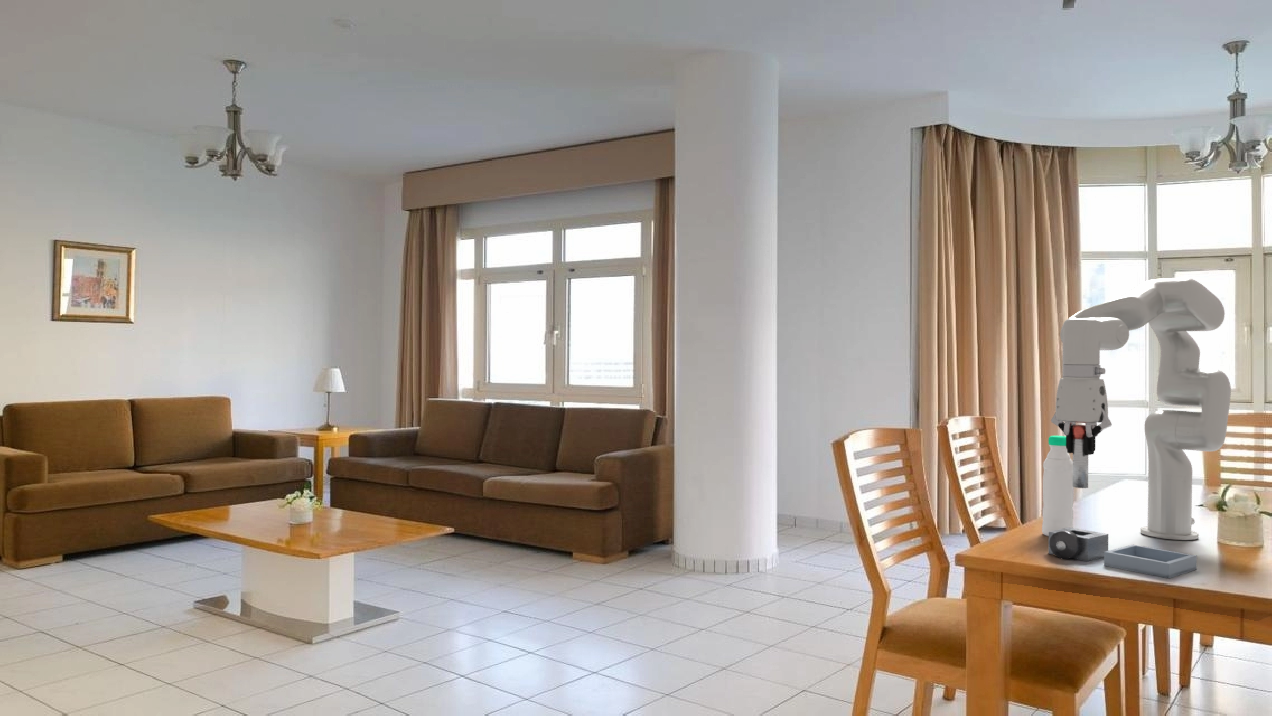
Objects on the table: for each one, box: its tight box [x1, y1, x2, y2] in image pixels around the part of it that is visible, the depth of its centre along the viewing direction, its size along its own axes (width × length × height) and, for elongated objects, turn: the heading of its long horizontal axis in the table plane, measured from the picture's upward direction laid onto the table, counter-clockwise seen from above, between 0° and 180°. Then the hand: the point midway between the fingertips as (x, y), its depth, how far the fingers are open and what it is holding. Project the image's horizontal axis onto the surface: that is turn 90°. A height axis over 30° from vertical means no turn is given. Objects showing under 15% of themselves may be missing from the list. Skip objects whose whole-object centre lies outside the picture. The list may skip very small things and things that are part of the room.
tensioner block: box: [1048, 527, 1109, 562], centre depth 202 cm, size 12×9×6 cm
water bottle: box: [1041, 435, 1075, 537], centre depth 224 cm, size 7×7×25 cm
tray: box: [1103, 544, 1198, 579], centre depth 191 cm, size 13×13×3 cm
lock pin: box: [1072, 424, 1089, 489], centre depth 203 cm, size 3×3×14 cm
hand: (1080, 452), depth 203 cm, fingers closed on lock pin, 3 cm apart
